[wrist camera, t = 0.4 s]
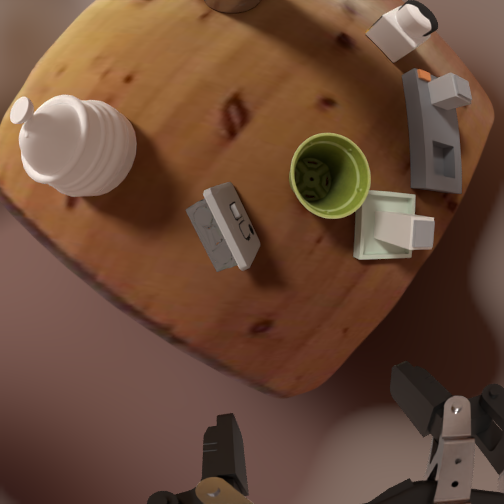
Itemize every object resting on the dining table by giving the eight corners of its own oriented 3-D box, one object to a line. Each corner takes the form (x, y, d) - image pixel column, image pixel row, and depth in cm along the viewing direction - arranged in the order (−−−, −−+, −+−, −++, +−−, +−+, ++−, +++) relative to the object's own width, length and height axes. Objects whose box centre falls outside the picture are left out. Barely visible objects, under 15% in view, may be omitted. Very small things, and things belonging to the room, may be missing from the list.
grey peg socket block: (401, 75, 34) (438, 54, 23) (438, 89, 34) (475, 74, 24) (410, 187, 38) (455, 189, 27) (446, 192, 38) (489, 196, 28)
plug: (375, 210, 37) (414, 216, 28) (396, 212, 37) (436, 218, 28) (373, 237, 38) (411, 250, 28) (394, 238, 38) (434, 250, 29)
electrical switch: (261, 244, 37) (264, 263, 28) (226, 259, 38) (219, 283, 29) (231, 180, 35) (224, 179, 26) (196, 198, 36) (178, 202, 27)
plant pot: (274, 211, 37) (288, 216, 28) (277, 142, 35) (292, 127, 26) (338, 215, 38) (368, 221, 29) (342, 150, 36) (371, 140, 27)
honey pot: (63, 121, 31) (-13, 93, 13) (136, 101, 32) (79, 44, 14) (64, 202, 33) (-21, 212, 16) (139, 189, 34) (70, 186, 17)
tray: (356, 189, 37) (362, 189, 35) (408, 194, 38) (415, 194, 36) (353, 256, 39) (359, 259, 37) (404, 254, 40) (411, 257, 38)
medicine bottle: (383, 21, 31) (416, -8, 19) (410, 49, 33) (448, 25, 21) (363, 33, 32) (397, 0, 20) (392, 63, 33) (433, 37, 21)
